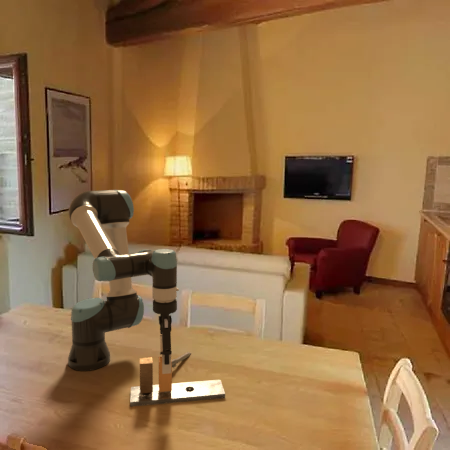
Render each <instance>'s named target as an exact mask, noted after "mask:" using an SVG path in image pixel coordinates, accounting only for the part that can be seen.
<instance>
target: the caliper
mask: <svg viewBox="0 0 450 450" xmlns="http://www.w3.org/2000/svg"><path fill="white" fill-rule="evenodd" d="M190 355H192V353H191V352H190V351H187V352H185V353H184V354H182V355H180V356H178V357H177V358H173V359H171V360H172V369H173V368H176V366H177V364H179V363H180V362H182V361H184V360H185V359H187V358H189V357H190Z"/></svg>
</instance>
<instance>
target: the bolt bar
mask: <svg viewBox="0 0 450 450" xmlns="http://www.w3.org/2000/svg"><path fill="white" fill-rule="evenodd" d="M153 364H154V363H153V357H152V356H151V357H139V386H131V387H130V398H129V401H130V402H129V406H130V407H131V408H132V407H142V406H152V405H153V406H154V405H163V404H164V405H165V404H172V403H184V402H195V401H196V402H197V401H206V400H207V401H208V400H216V399H217V400H218V399H225V398H226V392H225V389H224V386H223V384H222V380H221V379H213V380H212V379H211V380H198V381H187V382H175V383H173V382H172V391H165V392H159V384H154V377H153V375H154V373H153V372H154V371H153V370H154V368H153V367H154V365H153Z"/></svg>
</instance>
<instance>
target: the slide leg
mask: <svg viewBox="0 0 450 450" xmlns="http://www.w3.org/2000/svg"><path fill="white" fill-rule="evenodd" d="M172 360H173V359H171V373H169V374H162V356H158V385H159V392H165V391H172V383H173V380H172V379H173V374H172V373H173V367H172Z"/></svg>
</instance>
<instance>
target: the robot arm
mask: <svg viewBox="0 0 450 450" xmlns="http://www.w3.org/2000/svg"><path fill="white" fill-rule="evenodd" d="M72 199H73V200H72V201H71V202H70V205H69V208H68V215H69V216H68V217H69V220H70V222H71V223H72V225H73V226H74V227H76V228H77V229H78V230H79V232H80V234H81V236H82V238H83V240H84V241H85V244H86V245H87V247H88V249H89V251H90V252H91V253H90V254H92V256H93V261H92V273H93V277H94V278H95V280H97V281H98V282H108V285H109V290H108V293H107V294H106V300H104V299H102V298H101V297H89V298H86V299H83V300H80V301H78V302H76V303H75V304H73V306H72V308H71V311H70V313H71V314H70V320H71V339H72V342H71V343H72V344H71V348H70V351H69V354H68V357H67V365H68V368H71V369H72V370H74V371H80V372H86V371H87V372H88V371H95V370H98V369H100V368H103V367H104V366H106V365H108V364H109V363H110V361H111V351H110V350H109V347H108V345H107V342H106V337H105V336H106V335H105V334H107V333H109V332H113V331H118V330H121V329H122V330H123V329H130V328H131V327H135V326H138V325H140V323H141V322H142V320H143V319H144V313H145V305H144V301H143V298H142V296H140V295H139V294H138V292H137V290H135V289H134V287H133V281H132V278H135V277H141V276H149V277H152V292H151V293H152V299H153V300H152V312H153V313H154V314H156V315H158V324H159V333H160V335H159V337H160V338H159V339H160V340H159V341H160V349H159V351H160V352H159V355H161V357H162V374H169V373H171V360H172V338H171V337H172V336H171V335H172V334H171V332H172V322H173V318H172V314H174V313H176V312H177V310H178V300H177V298H178V295H177V294H178V293H177V292H178V291H179V290H180V289H179V287H178V286H177V285H178V282H177V281H178V279H177V278H178V274H177V273H178V260H177V252H176V251H175V250H173V249H167V248H160V249H156V250H155V249H154V250H151V249H141V250H139V251H138V252H135V253H134V252H133V253H132V252H131V253H129V241H128V234H127V227H128V226H129V224H130V220H131V219H132V218H133V217H134V214H135V213H134V211H135V208H134V203H133V200H132V199H133V198H132V197H131V195H130V193H128V191H126V190H122V189H109V190H107V189H106V190H86V191H83V192H81V193H79V194H77V195H76V196H75V197H74V198H72Z"/></svg>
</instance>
